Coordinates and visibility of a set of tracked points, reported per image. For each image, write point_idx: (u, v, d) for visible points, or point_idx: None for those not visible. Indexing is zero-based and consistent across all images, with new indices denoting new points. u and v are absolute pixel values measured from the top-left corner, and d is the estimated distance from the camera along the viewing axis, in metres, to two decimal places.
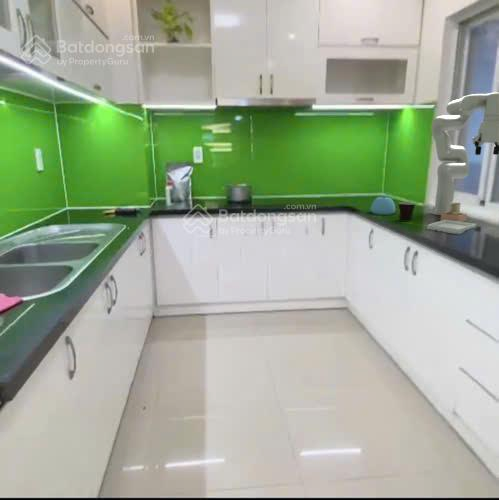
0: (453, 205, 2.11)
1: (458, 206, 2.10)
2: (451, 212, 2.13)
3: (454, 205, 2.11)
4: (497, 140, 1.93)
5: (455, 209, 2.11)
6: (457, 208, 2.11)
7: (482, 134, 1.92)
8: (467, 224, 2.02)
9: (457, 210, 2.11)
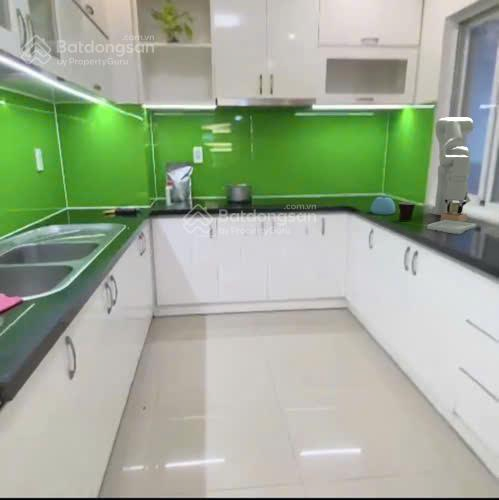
0: (453, 205, 2.11)
1: (458, 206, 2.10)
2: (451, 212, 2.12)
3: (454, 205, 2.11)
4: None
5: (455, 209, 2.11)
6: (457, 208, 2.11)
7: (467, 193, 2.08)
8: (467, 224, 2.02)
9: (457, 210, 2.11)
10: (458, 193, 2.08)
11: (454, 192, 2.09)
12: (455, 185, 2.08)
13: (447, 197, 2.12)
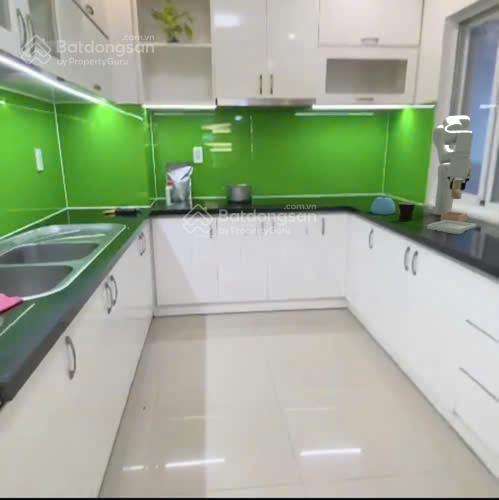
0: (456, 182, 2.08)
1: None
2: (454, 189, 2.09)
3: (457, 182, 2.08)
4: None
5: (458, 186, 2.08)
6: (460, 185, 2.08)
7: (470, 169, 2.05)
8: (467, 224, 2.02)
9: (460, 187, 2.08)
10: (461, 169, 2.04)
11: (457, 169, 2.06)
12: (458, 161, 2.05)
13: (450, 174, 2.09)
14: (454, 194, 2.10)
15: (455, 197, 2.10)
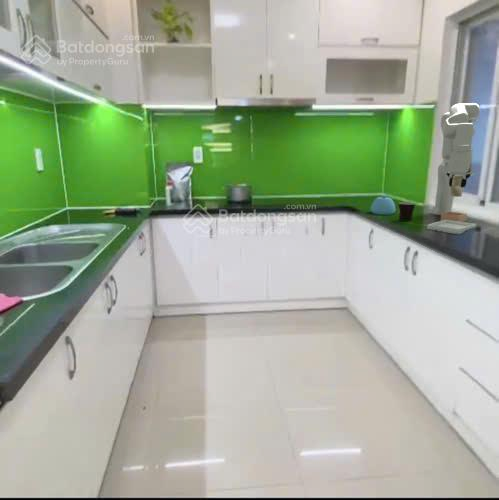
0: (456, 178, 1.92)
1: (461, 179, 1.91)
2: (454, 186, 1.93)
3: (457, 178, 1.92)
4: None
5: (458, 182, 1.92)
6: (460, 181, 1.92)
7: (471, 164, 1.89)
8: (467, 224, 2.02)
9: (460, 184, 1.92)
10: (461, 164, 1.89)
11: (457, 164, 1.90)
12: (458, 156, 1.89)
13: (449, 170, 1.93)
14: (454, 191, 1.94)
15: (455, 194, 1.94)
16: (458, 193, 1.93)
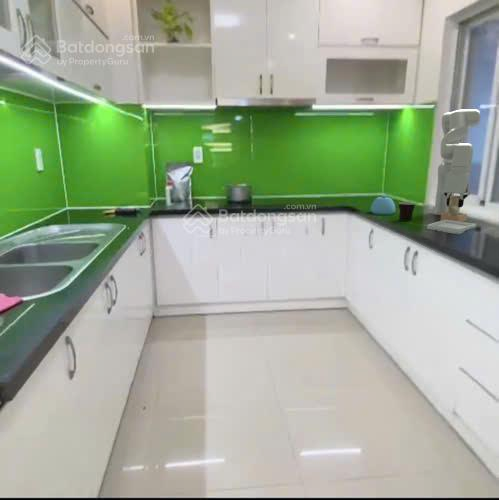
0: (453, 198, 1.94)
1: None
2: (451, 206, 1.95)
3: (454, 198, 1.93)
4: None
5: (455, 202, 1.94)
6: (457, 201, 1.93)
7: (468, 185, 1.91)
8: (467, 224, 2.02)
9: (457, 204, 1.94)
10: (459, 185, 1.90)
11: (454, 184, 1.92)
12: (455, 176, 1.91)
13: (447, 190, 1.95)
14: (451, 211, 1.96)
15: (452, 214, 1.95)
16: (455, 213, 1.95)
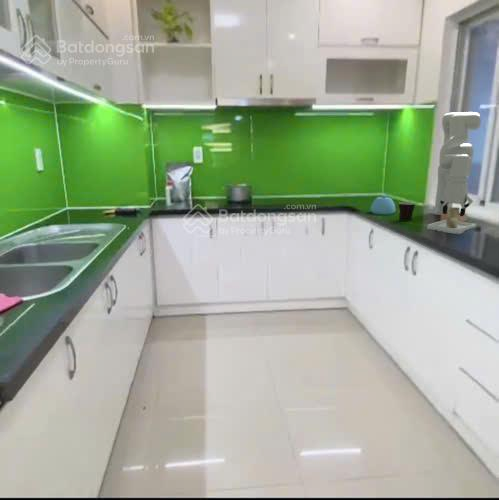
0: (451, 210, 1.96)
1: (457, 211, 1.95)
2: (449, 218, 1.97)
3: (452, 210, 1.95)
4: None
5: (454, 214, 1.96)
6: (456, 213, 1.95)
7: (467, 195, 1.92)
8: (467, 224, 2.02)
9: (456, 215, 1.96)
10: (457, 195, 1.92)
11: (452, 194, 1.93)
12: (454, 186, 1.92)
13: (445, 200, 1.97)
14: (449, 222, 1.98)
15: (451, 226, 1.97)
16: (454, 225, 1.97)
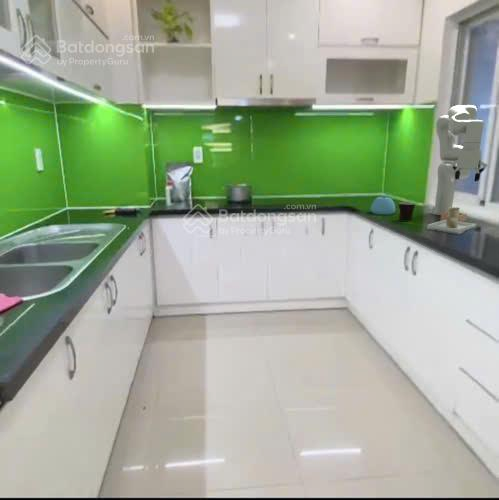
0: (451, 210, 1.96)
1: (457, 211, 1.95)
2: (449, 218, 1.97)
3: (452, 210, 1.95)
4: None
5: (454, 214, 1.95)
6: (456, 213, 1.95)
7: (480, 161, 1.94)
8: (467, 224, 2.02)
9: (456, 215, 1.95)
10: (471, 161, 1.94)
11: (466, 160, 1.96)
12: (468, 152, 1.94)
13: (459, 166, 1.99)
14: (449, 222, 1.98)
15: (451, 226, 1.97)
16: (454, 225, 1.97)
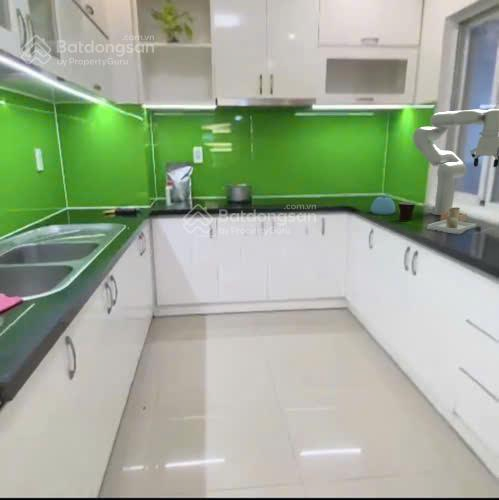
0: (451, 209, 1.96)
1: (457, 211, 1.95)
2: (449, 217, 1.97)
3: (452, 210, 1.95)
4: None
5: (454, 214, 1.96)
6: (456, 213, 1.95)
7: None
8: (467, 224, 2.02)
9: (456, 215, 1.96)
10: (490, 148, 2.04)
11: (485, 147, 2.06)
12: (487, 140, 2.05)
13: (478, 153, 2.09)
14: (449, 222, 1.98)
15: (450, 226, 1.97)
16: (453, 224, 1.97)
